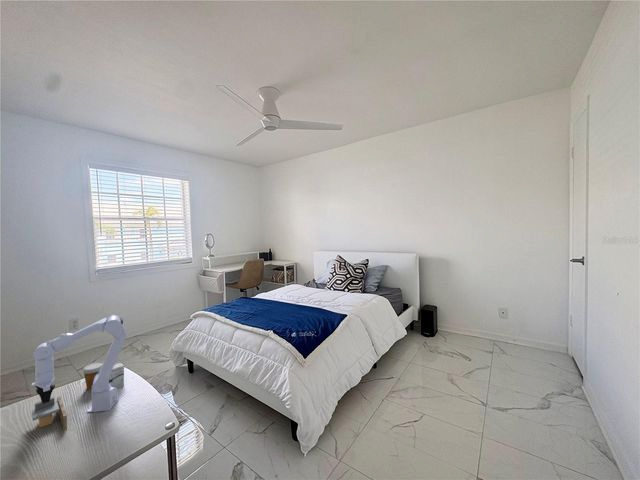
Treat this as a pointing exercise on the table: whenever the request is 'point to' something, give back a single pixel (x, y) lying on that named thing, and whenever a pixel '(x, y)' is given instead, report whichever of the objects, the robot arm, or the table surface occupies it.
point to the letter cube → (45, 420)
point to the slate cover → (44, 409)
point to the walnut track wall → (62, 413)
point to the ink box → (117, 376)
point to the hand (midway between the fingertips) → (45, 400)
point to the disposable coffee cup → (91, 373)
